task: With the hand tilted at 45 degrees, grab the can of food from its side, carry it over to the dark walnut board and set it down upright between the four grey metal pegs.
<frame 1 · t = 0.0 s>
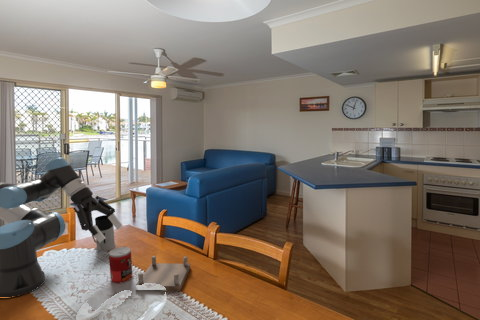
hand: (112, 233, 112), 15 cm above the table, tool tilted 35°, fingers open, 13 cm apart
peg board: (164, 278, 107), on the table
canned food: (121, 278, 108), on the table
glass holder: (102, 250, 133), on the table
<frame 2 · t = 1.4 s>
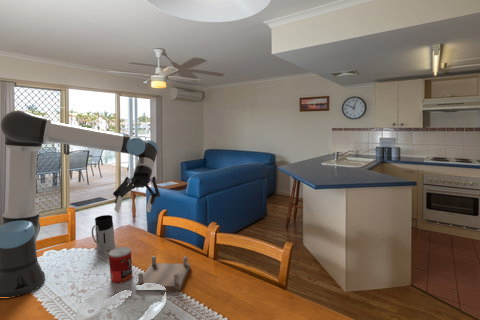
hand: (132, 210, 116), 23 cm above the table, tool tilted 45°, fingers open, 13 cm apart
nothing on the table moved.
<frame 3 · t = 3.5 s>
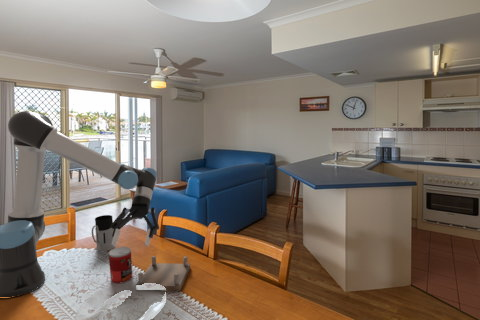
hand: (130, 245, 112), 10 cm above the table, tool tilted 45°, fingers open, 13 cm apart
nothing on the table moved.
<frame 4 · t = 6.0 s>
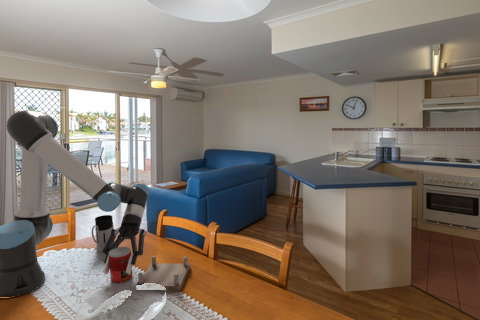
hand: (116, 273, 104), 4 cm above the table, tool tilted 45°, fingers closed on canned food, 8 cm apart
canned food: (121, 278, 108), on the table, touching gripper
everything else where it was.
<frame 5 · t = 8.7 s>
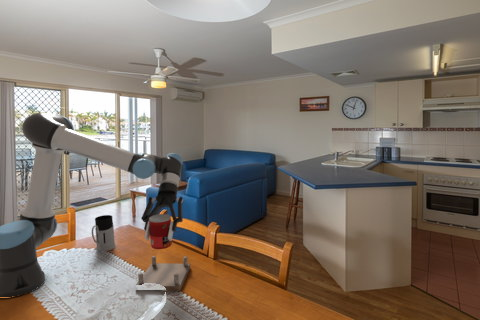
hand: (158, 239, 102), 17 cm above the table, tool tilted 45°, fingers closed on canned food, 8 cm apart
canned food: (161, 245, 105), point 13 cm above the table, touching gripper
everything else where it was.
when the fingers open (7 cm above the table, at t = 11.5 s): canned food drops 1 cm, resting on peg board.
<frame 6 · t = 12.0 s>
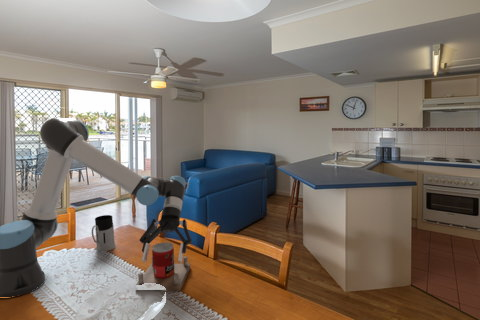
hand: (161, 261, 103), 8 cm above the table, tool tilted 45°, fingers open, 13 cm apart
canned food: (164, 274, 107), point 2 cm above the table, touching peg board
everything else where it was.
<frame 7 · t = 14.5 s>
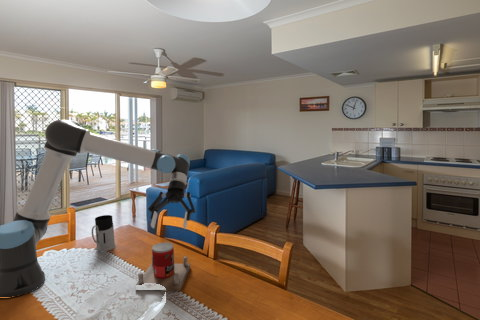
hand: (168, 227, 116), 16 cm above the table, tool tilted 45°, fingers open, 13 cm apart
nothing on the table moved.
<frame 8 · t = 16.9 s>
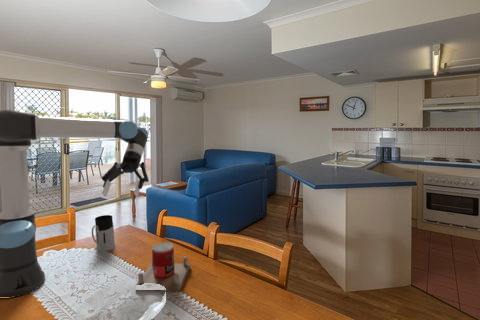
hand: (119, 194, 117), 30 cm above the table, tool tilted 45°, fingers open, 13 cm apart
nothing on the table moved.
at the end: canned food 0.2 cm off-centre on the peg board, point 1.8 cm above the peg board's base; canned food tilted 0°; the gripper is holding nothing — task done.
